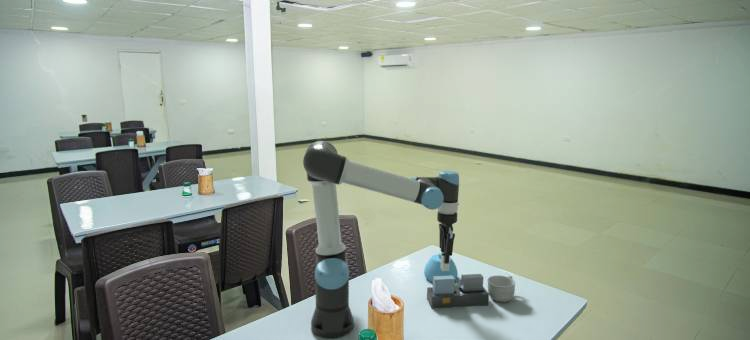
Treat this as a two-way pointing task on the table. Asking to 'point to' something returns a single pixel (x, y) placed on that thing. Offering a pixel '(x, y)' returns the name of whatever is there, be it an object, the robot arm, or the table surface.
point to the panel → (443, 285)
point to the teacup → (501, 288)
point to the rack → (461, 294)
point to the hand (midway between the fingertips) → (444, 269)
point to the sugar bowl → (435, 270)
